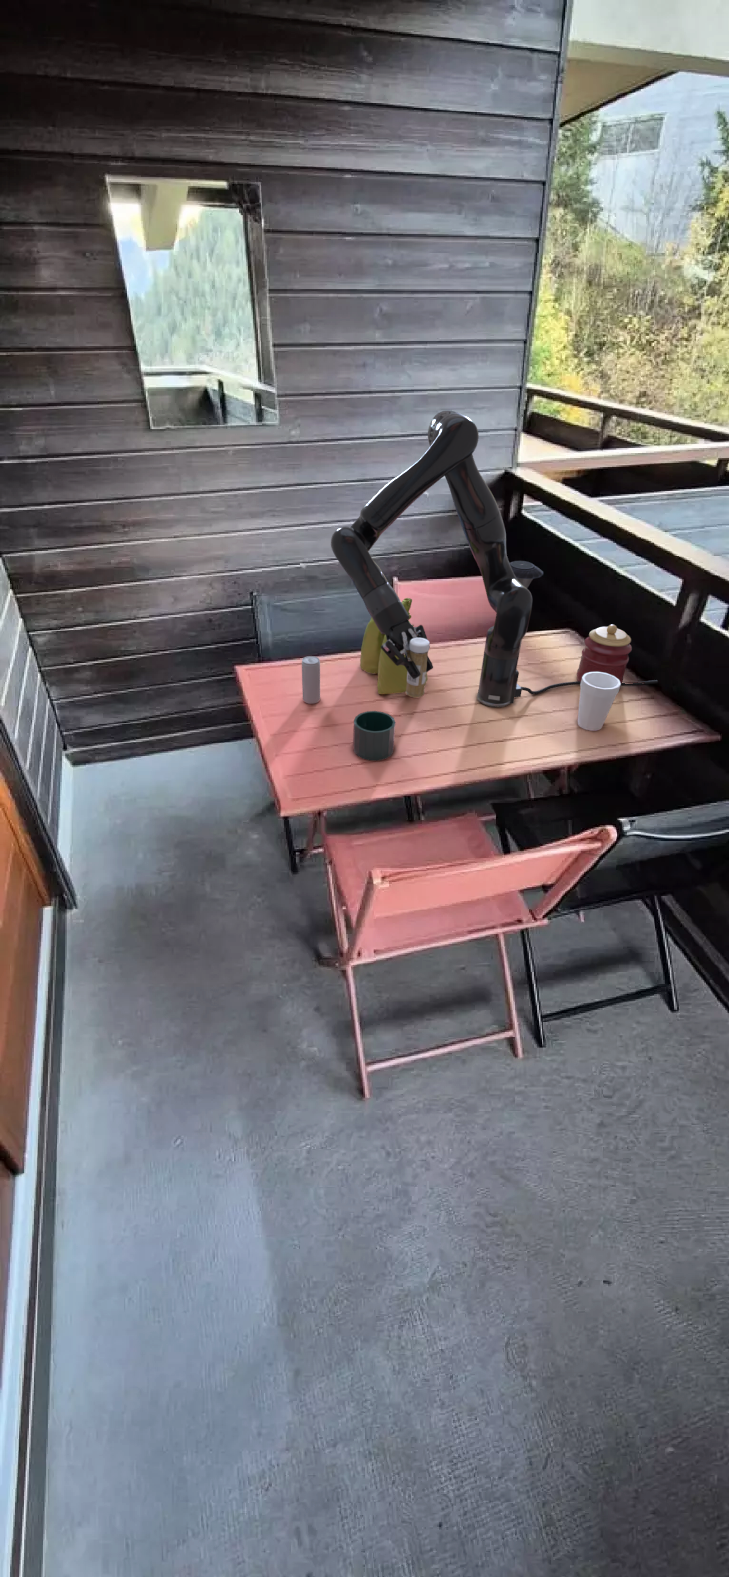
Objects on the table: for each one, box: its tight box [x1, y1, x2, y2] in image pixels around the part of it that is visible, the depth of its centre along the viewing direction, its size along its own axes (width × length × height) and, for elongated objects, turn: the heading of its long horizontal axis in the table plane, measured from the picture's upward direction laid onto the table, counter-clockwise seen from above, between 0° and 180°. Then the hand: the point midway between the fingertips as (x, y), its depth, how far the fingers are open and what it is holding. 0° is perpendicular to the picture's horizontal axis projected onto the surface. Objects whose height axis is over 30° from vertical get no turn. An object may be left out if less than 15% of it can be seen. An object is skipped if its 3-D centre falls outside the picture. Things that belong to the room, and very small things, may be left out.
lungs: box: [359, 597, 428, 695], centre depth 194 cm, size 25×16×24 cm, turn 18°
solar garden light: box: [509, 560, 544, 589], centre depth 203 cm, size 12×12×30 cm
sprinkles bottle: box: [405, 638, 431, 699], centre depth 161 cm, size 5×5×14 cm
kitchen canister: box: [576, 624, 633, 684], centre depth 198 cm, size 13×13×18 cm
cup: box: [352, 710, 396, 762], centre depth 169 cm, size 10×10×8 cm
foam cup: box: [577, 672, 621, 732], centre depth 180 cm, size 10×9×13 cm
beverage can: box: [301, 655, 321, 705], centre depth 186 cm, size 5×5×12 cm
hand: (423, 673), depth 161 cm, fingers closed on sprinkles bottle, 4 cm apart
